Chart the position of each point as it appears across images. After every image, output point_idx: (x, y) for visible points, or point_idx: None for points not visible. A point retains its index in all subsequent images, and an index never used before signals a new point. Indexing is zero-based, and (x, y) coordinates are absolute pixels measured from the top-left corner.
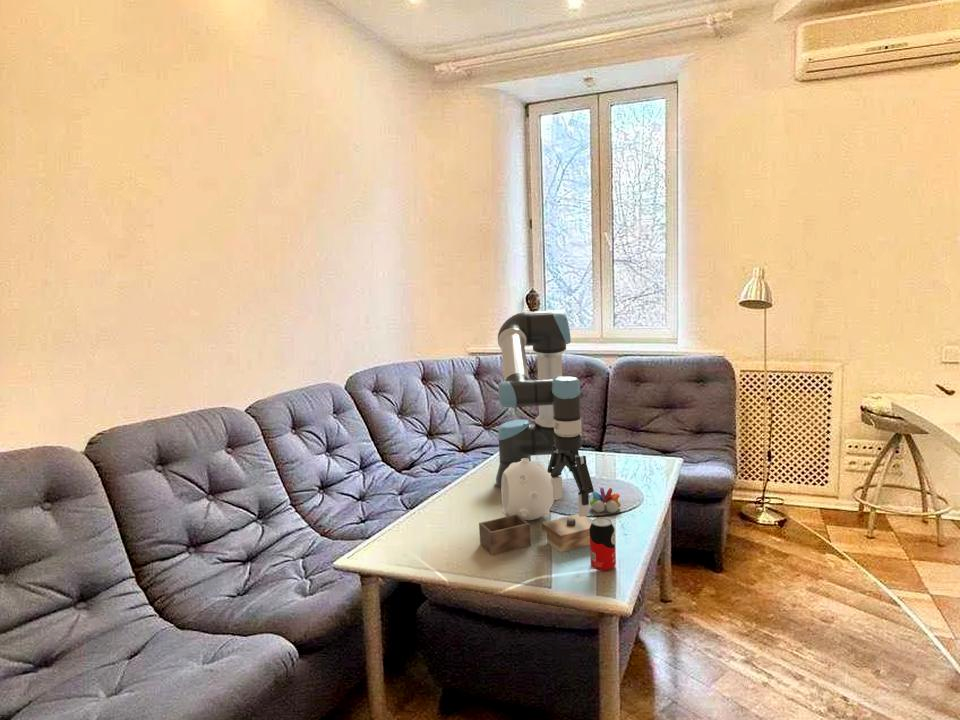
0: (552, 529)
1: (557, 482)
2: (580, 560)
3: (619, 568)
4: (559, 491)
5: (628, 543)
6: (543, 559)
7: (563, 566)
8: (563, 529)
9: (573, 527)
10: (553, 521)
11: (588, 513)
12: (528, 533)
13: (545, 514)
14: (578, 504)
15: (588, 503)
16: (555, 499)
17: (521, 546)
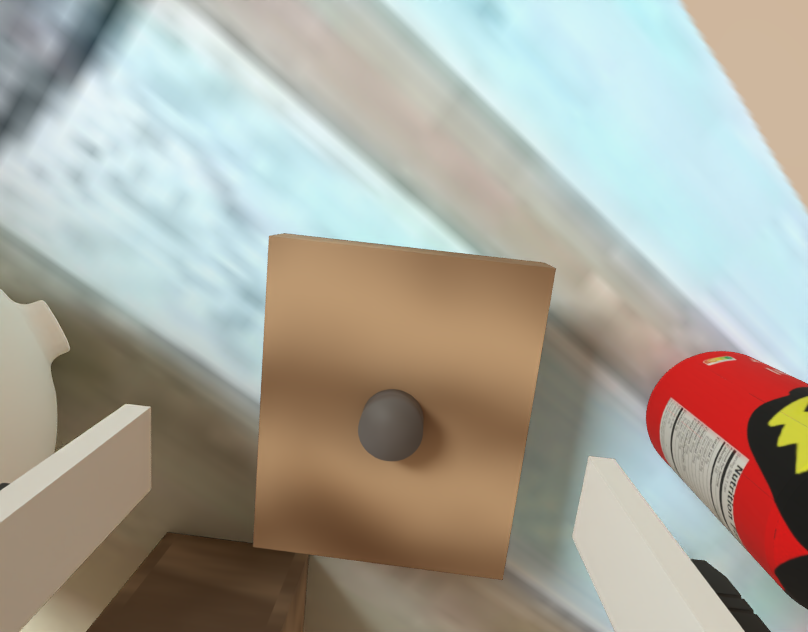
0: (390, 561)
1: (23, 576)
2: (575, 451)
3: (777, 357)
4: (104, 476)
5: (596, 94)
6: (450, 575)
7: (569, 549)
8: (433, 510)
9: (450, 443)
10: (284, 482)
11: (617, 468)
12: (287, 621)
13: (60, 351)
14: (612, 623)
15: (720, 577)
16: (149, 483)
17: (301, 610)
